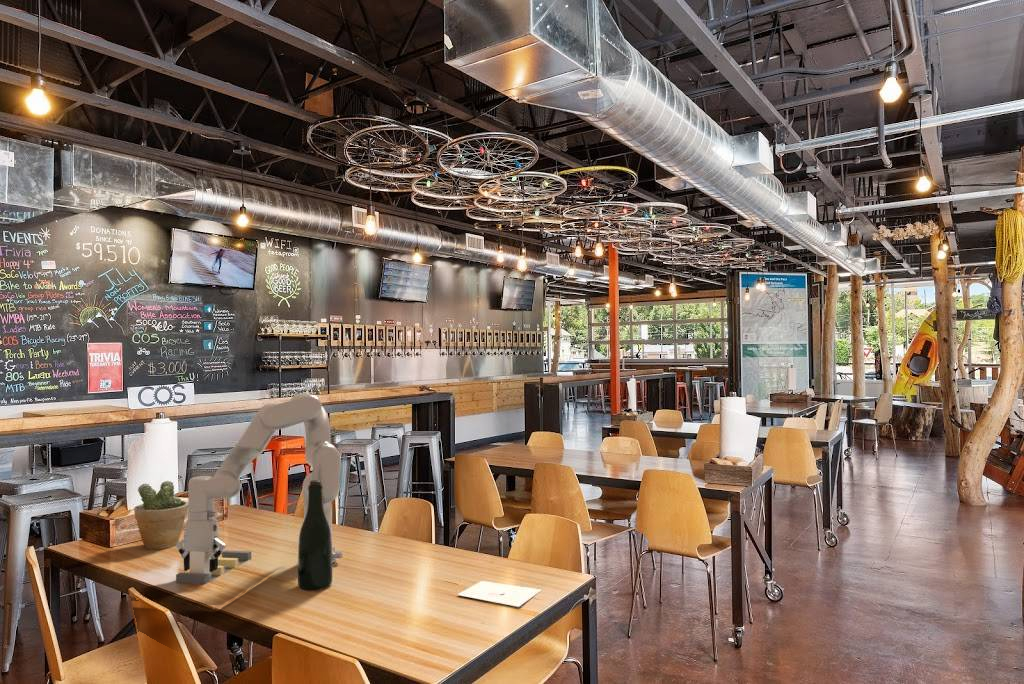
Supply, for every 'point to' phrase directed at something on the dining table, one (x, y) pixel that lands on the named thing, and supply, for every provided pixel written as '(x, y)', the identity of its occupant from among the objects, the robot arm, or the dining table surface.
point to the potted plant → (160, 516)
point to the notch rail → (206, 576)
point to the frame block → (200, 562)
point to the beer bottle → (315, 544)
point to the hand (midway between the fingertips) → (200, 569)
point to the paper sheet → (500, 593)
